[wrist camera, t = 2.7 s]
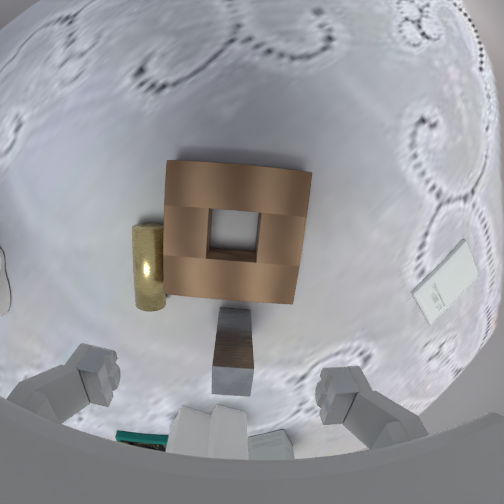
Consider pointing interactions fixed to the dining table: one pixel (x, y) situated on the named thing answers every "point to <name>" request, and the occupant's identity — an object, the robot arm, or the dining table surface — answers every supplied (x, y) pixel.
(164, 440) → the digital multimeter
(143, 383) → the dining table surface
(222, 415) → the corner bracket
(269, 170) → the socket block
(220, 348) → the square bit
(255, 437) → the supplement box
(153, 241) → the round bit
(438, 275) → the external hard drive
